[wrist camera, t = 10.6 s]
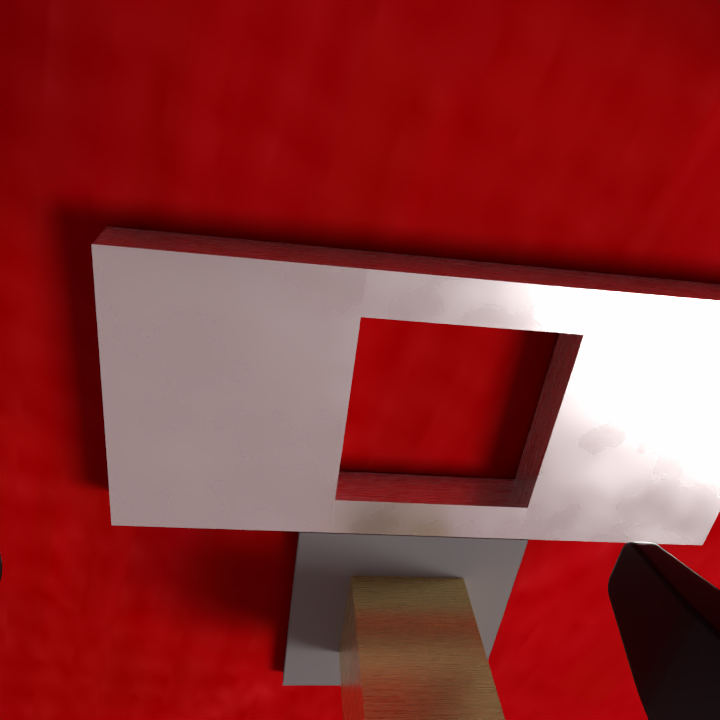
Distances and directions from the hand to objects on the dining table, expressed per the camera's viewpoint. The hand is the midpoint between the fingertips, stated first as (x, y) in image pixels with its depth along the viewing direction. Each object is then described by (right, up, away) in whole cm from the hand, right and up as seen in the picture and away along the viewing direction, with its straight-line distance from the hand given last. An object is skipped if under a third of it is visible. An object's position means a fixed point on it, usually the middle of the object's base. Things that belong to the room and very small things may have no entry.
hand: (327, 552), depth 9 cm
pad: (+2, -8, +18) cm, 20 cm away
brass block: (+2, -8, +18) cm, 19 cm away
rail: (+3, +2, +13) cm, 14 cm away
